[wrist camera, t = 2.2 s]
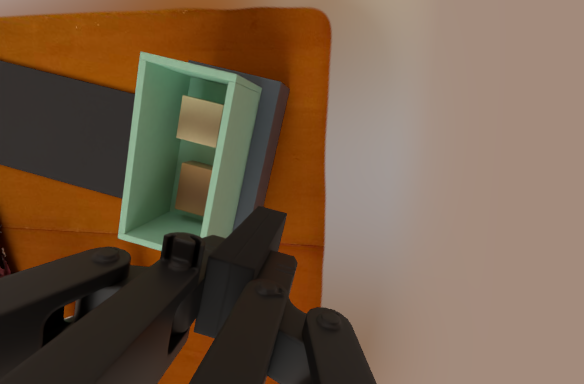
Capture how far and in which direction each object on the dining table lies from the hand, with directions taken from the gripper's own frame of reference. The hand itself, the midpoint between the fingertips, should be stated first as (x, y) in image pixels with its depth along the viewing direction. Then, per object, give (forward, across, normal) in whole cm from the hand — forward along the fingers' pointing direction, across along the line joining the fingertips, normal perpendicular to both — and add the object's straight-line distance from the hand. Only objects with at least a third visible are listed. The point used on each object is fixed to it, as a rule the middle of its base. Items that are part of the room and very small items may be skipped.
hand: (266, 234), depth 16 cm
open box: (+18, -10, 0) cm, 21 cm away
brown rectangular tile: (+18, -10, -3) cm, 21 cm away
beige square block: (+18, -10, +4) cm, 21 cm away
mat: (+24, -32, -3) cm, 41 cm away
